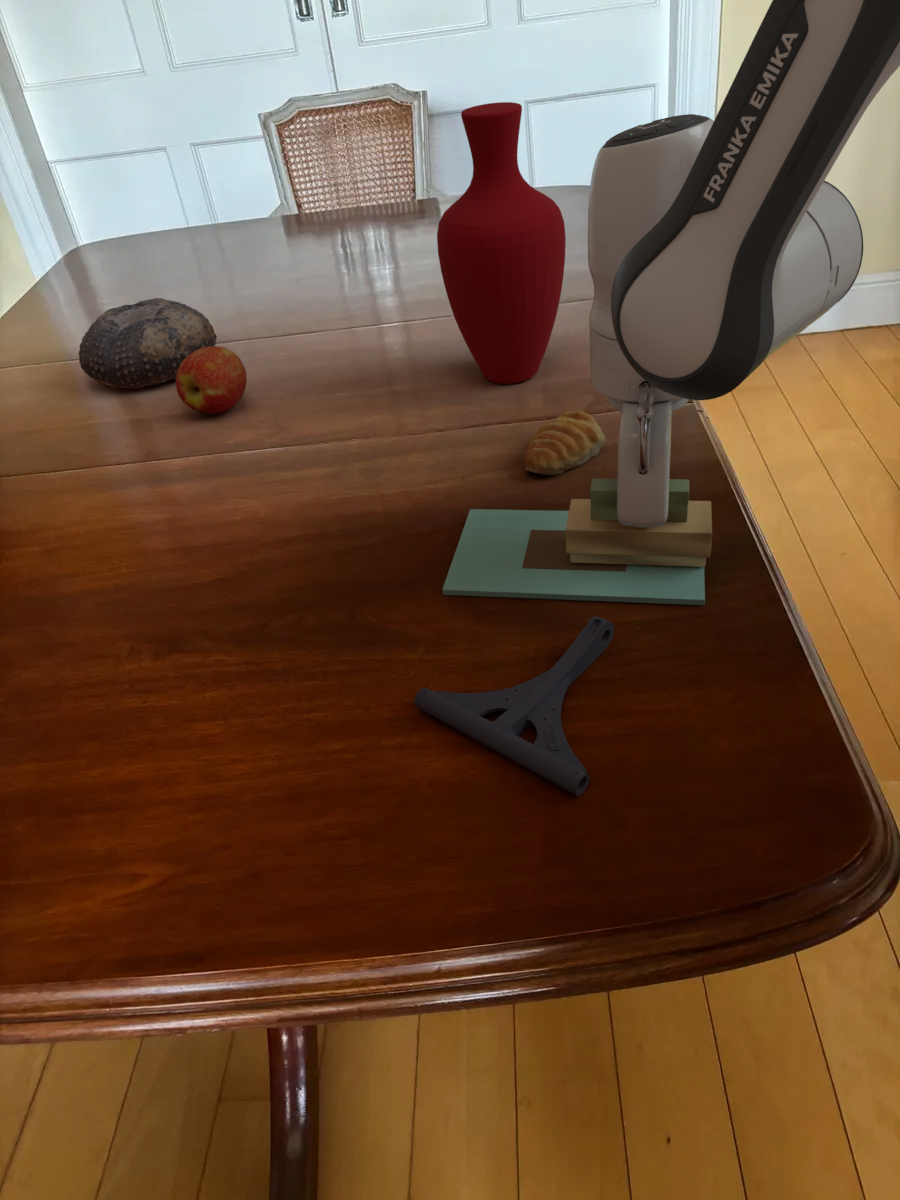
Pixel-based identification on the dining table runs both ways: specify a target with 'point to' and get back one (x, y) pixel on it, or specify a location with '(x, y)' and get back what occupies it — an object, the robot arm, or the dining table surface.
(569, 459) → the pastry
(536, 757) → the bracket
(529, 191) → the vase
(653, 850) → the dining table surface
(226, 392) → the apple
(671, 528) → the brush
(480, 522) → the mat
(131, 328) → the sea urchin shell
